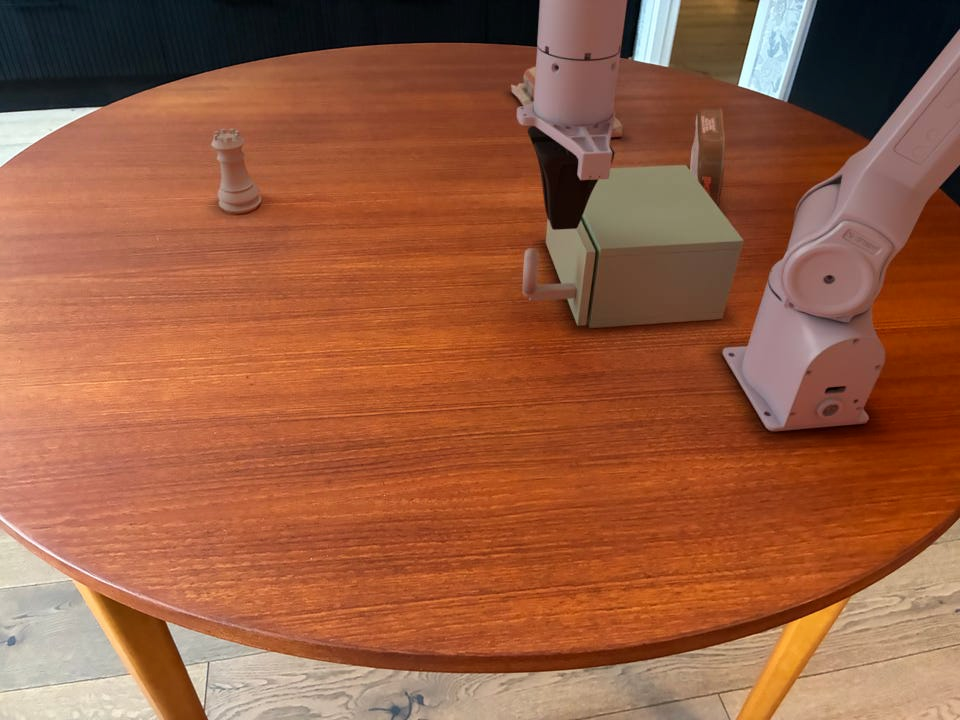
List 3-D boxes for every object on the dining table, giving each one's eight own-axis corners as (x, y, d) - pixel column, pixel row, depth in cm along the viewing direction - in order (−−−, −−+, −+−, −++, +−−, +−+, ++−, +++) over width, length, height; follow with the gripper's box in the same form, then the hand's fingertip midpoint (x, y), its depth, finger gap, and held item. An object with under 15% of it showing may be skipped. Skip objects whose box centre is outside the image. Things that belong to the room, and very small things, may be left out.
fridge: (589, 328, 65) (600, 248, 60) (555, 244, 76) (562, 170, 71) (722, 319, 67) (744, 240, 62) (671, 237, 77) (685, 164, 72)
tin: (715, 230, 79) (733, 154, 73) (684, 227, 79) (700, 150, 74) (710, 167, 90) (726, 97, 85) (683, 164, 90) (697, 94, 85)
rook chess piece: (210, 208, 81) (193, 136, 75) (239, 191, 84) (224, 121, 78) (242, 219, 79) (227, 146, 74) (271, 201, 82) (258, 129, 77)
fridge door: (524, 329, 65) (529, 255, 60) (499, 245, 75) (502, 176, 70) (586, 325, 65) (596, 251, 61) (553, 242, 76) (559, 173, 71)
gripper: (504, 17, 57) (498, 182, 66) (542, 87, 46) (529, 275, 55) (596, 15, 58) (578, 179, 67) (654, 83, 47) (624, 269, 55)
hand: (562, 222), depth 61 cm, fingers closed
